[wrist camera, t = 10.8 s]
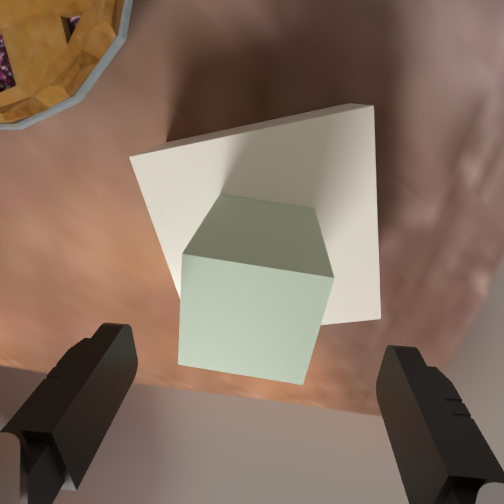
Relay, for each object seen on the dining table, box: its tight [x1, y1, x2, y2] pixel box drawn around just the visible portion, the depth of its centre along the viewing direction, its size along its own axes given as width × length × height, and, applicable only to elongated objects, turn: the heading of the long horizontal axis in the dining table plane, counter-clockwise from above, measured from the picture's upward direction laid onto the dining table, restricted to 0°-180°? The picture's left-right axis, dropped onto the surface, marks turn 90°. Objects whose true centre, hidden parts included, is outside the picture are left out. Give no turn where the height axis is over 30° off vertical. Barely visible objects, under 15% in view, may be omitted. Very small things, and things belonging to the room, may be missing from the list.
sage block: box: [178, 194, 334, 385], centre depth 14 cm, size 5×5×7 cm
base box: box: [129, 103, 381, 325], centre depth 20 cm, size 12×12×6 cm
